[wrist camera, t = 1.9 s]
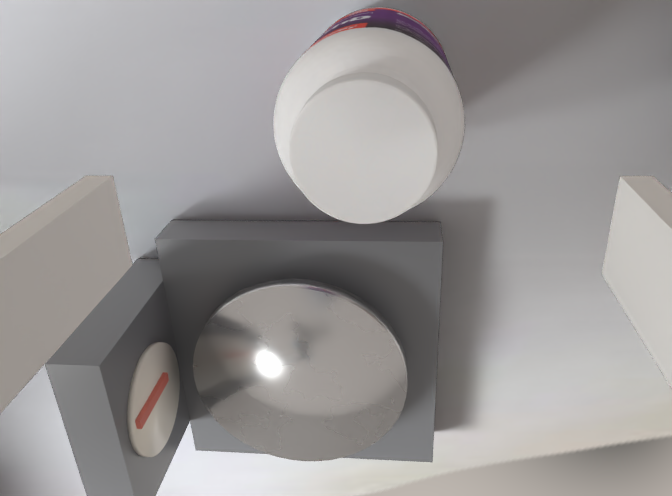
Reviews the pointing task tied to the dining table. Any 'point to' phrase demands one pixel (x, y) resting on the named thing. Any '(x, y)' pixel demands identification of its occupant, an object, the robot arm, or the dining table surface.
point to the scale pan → (301, 370)
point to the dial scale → (191, 317)
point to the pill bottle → (370, 117)
